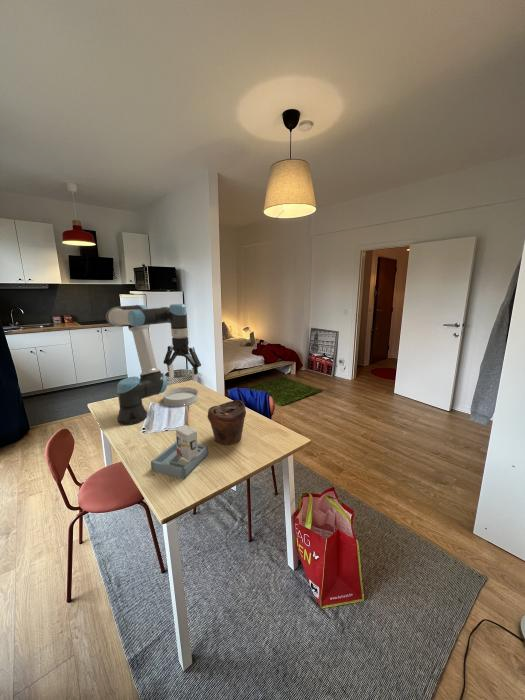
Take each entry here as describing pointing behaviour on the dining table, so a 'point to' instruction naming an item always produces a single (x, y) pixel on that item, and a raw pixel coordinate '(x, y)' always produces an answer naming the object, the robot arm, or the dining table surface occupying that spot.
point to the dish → (180, 397)
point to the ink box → (186, 442)
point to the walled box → (177, 462)
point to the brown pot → (227, 421)
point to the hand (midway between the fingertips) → (183, 379)
